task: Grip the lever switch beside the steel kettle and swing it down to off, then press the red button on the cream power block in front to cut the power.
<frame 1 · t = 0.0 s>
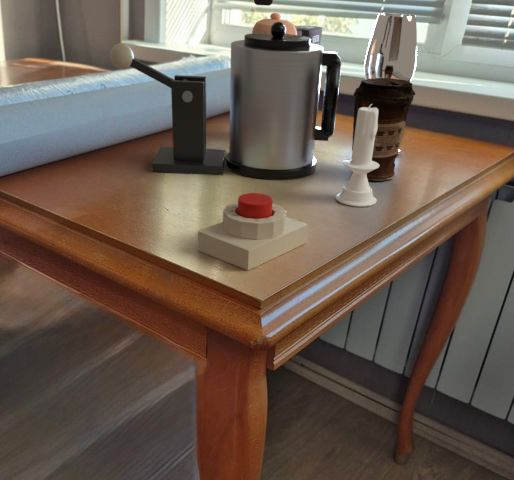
hand: (262, 2, 75), 22 cm above the table, tool pointing down, fingers open, 8 cm apart
pepper shaker: (268, 141, 104), on the table
power block: (253, 246, 66), on the table
lever switch: (155, 74, 84), point 12 cm above the table, hinge at 25.0°
candle: (355, 201, 80), on the table
wineglass: (376, 152, 101), on the table
kettle: (270, 165, 92), on the table
coffee box: (293, 121, 118), on the table
power button: (255, 206, 63), point 4 cm above the table, slide at 0.1 cm
switch bracket: (190, 164, 90), on the table
coffee cup: (372, 177, 89), on the table
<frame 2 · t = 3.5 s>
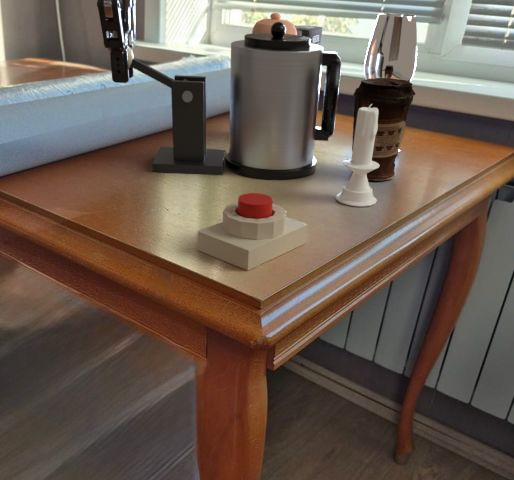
hand: (123, 79, 84), 11 cm above the table, tool pointing down, fingers closed on lever switch, 3 cm apart
lever switch: (155, 74, 84), point 12 cm above the table, hinge at 24.9°, touching gripper
everything else where it was.
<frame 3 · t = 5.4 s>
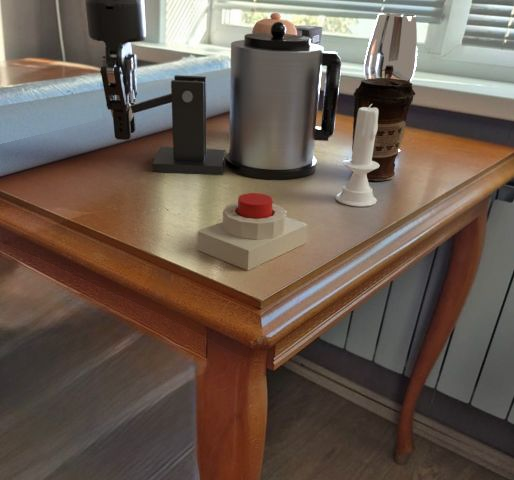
hand: (125, 135, 88), 4 cm above the table, tool pointing down, fingers closed on lever switch, 3 cm apart
lever switch: (154, 102, 86), point 8 cm above the table, hinge at -17.3°, touching gripper
everything else where it was.
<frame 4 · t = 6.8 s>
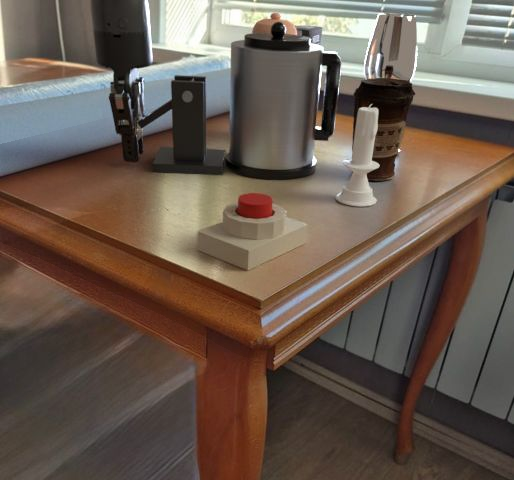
hand: (134, 156, 90), 1 cm above the table, tool pointing down, fingers open, 3 cm apart
lever switch: (159, 112, 86), point 7 cm above the table, hinge at -32.6°
everything else where it was.
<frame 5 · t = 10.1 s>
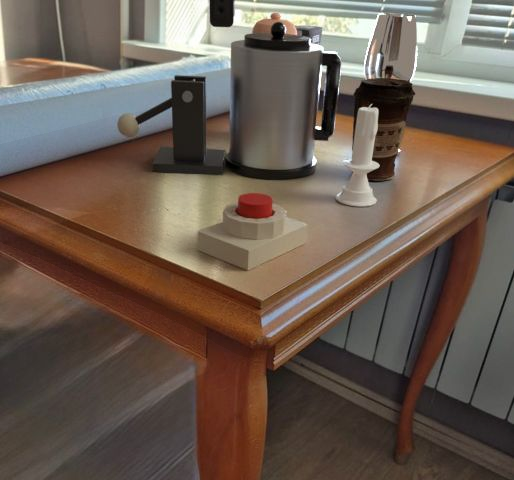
hand: (223, 22, 60), 21 cm above the table, tool pointing down, fingers open, 8 cm apart
lever switch: (158, 109, 86), point 8 cm above the table, hinge at -28.5°
everything else where it was.
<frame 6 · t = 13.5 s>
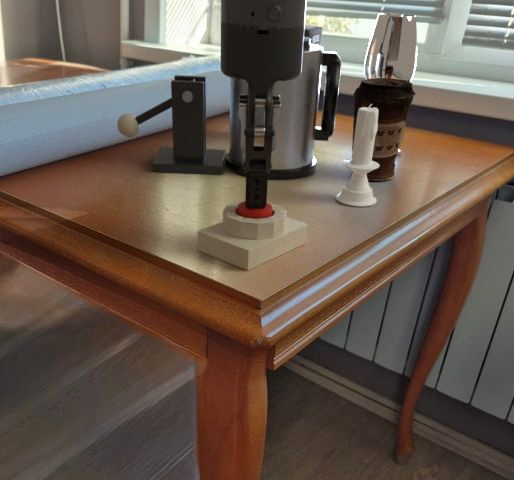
hand: (255, 206, 63), 5 cm above the table, tool pointing down, fingers closed
power button: (254, 214, 64), point 4 cm above the table, slide at -0.7 cm, touching gripper
everything else where it was.
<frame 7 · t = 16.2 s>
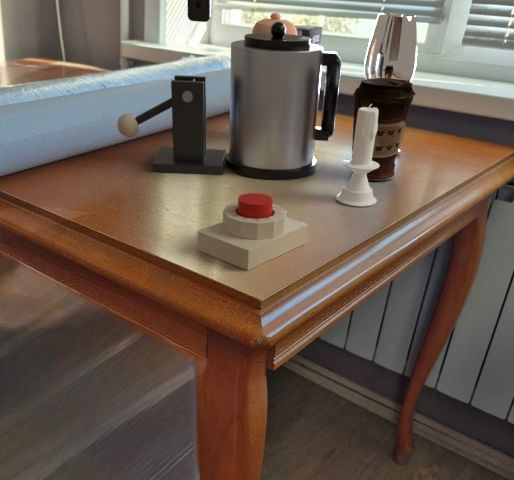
hand: (199, 20, 61), 21 cm above the table, tool pointing down, fingers closed
power button: (255, 206, 63), point 4 cm above the table, slide at 0.1 cm
everything else where it was.
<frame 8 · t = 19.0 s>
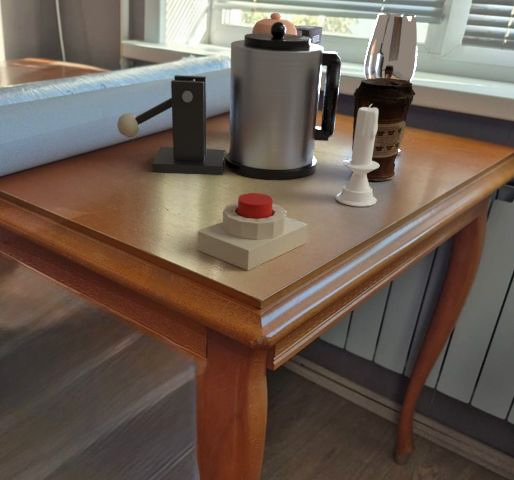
nothing on the table moved.
at the end: lever switch at -28° (first picture: +25°); power button pushed in 1.1 cm at the most during the clip, back to where it started at the end; power button slide at 0.1 cm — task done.
